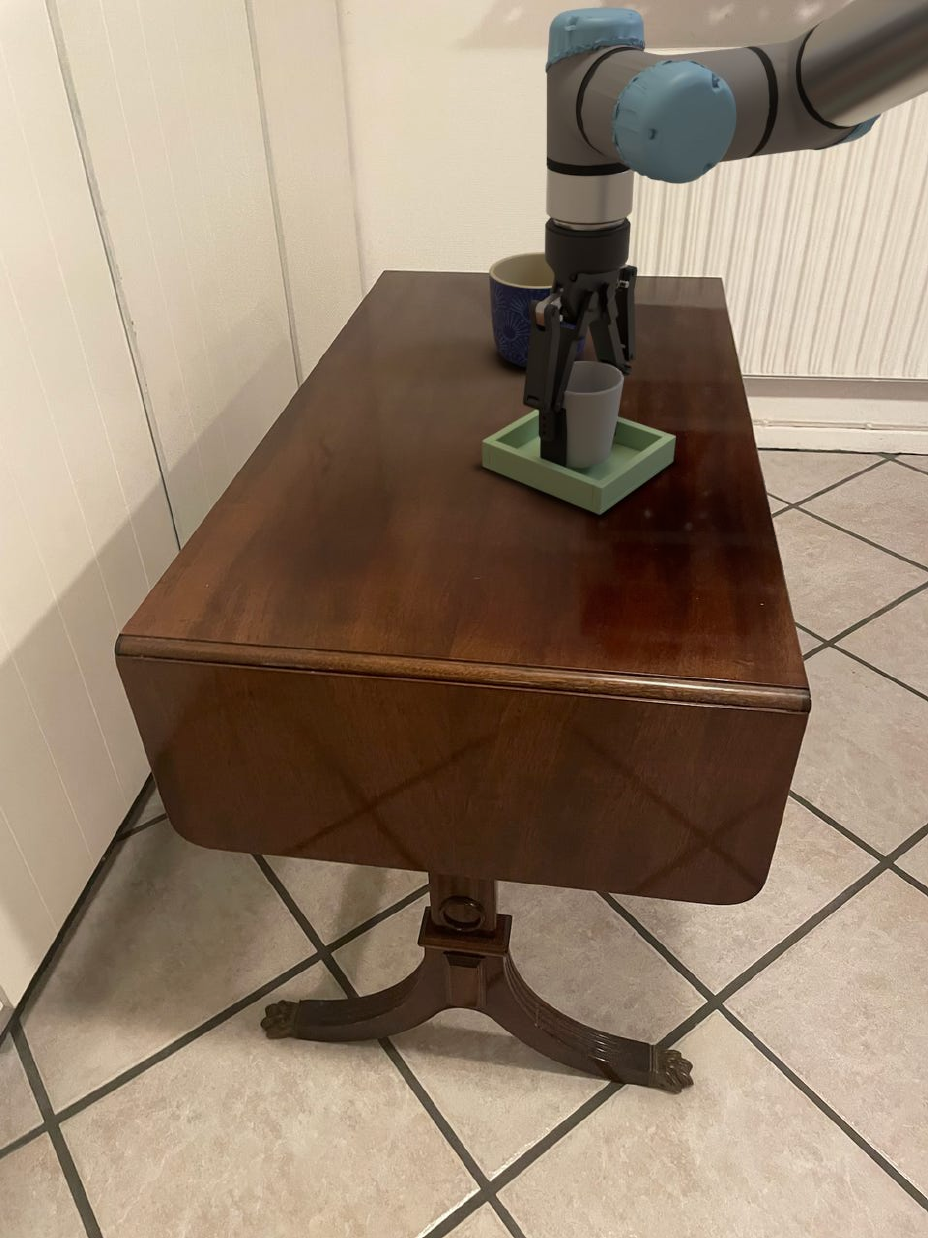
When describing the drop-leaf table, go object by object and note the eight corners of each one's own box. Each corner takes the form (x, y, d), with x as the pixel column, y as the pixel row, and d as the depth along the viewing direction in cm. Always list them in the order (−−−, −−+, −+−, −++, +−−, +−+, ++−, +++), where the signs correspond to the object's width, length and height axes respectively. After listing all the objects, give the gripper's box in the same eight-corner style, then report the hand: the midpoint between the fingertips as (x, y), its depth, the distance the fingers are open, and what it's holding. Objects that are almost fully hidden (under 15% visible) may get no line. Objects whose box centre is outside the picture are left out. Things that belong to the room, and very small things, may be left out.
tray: (673, 461, 99) (676, 435, 97) (600, 515, 91) (601, 488, 89) (558, 420, 107) (558, 395, 105) (482, 466, 99) (481, 440, 97)
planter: (479, 371, 117) (476, 283, 111) (504, 332, 127) (503, 249, 120) (578, 380, 114) (581, 290, 107) (597, 340, 123) (601, 254, 117)
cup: (544, 474, 94) (544, 394, 89) (544, 426, 102) (545, 351, 97) (621, 473, 94) (626, 393, 88) (615, 426, 102) (620, 350, 96)
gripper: (620, 184, 91) (607, 402, 106) (478, 240, 80) (485, 477, 94) (688, 196, 87) (665, 421, 102) (549, 257, 76) (545, 502, 90)
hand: (578, 448), depth 98 cm, fingers closed on cup, 8 cm apart
